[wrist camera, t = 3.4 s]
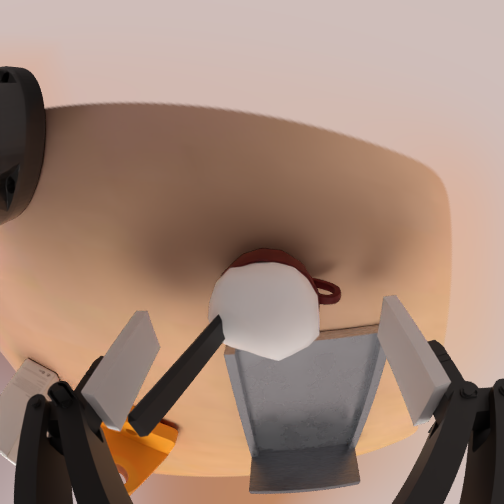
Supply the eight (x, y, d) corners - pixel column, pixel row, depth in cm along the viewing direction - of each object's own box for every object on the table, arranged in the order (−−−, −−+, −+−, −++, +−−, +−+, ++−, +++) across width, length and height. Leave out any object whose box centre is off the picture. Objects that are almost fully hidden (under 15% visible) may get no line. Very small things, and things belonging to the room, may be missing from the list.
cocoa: (336, 255, 18) (420, 386, 7) (304, 328, 21) (336, 468, 9) (200, 216, 17) (120, 332, 6) (182, 297, 20) (127, 438, 8)
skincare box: (27, 356, 26) (-27, 427, 12) (59, 373, 26) (6, 457, 12) (44, 391, 30) (3, 457, 15) (75, 407, 30) (35, 481, 15)
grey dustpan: (227, 337, 21) (212, 407, 15) (383, 323, 20) (413, 386, 13) (253, 448, 29) (250, 493, 22) (350, 440, 27) (358, 484, 21)
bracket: (181, 425, 27) (159, 508, 16) (169, 443, 30) (150, 512, 19) (100, 388, 26) (61, 463, 15) (100, 412, 29) (69, 476, 18)
